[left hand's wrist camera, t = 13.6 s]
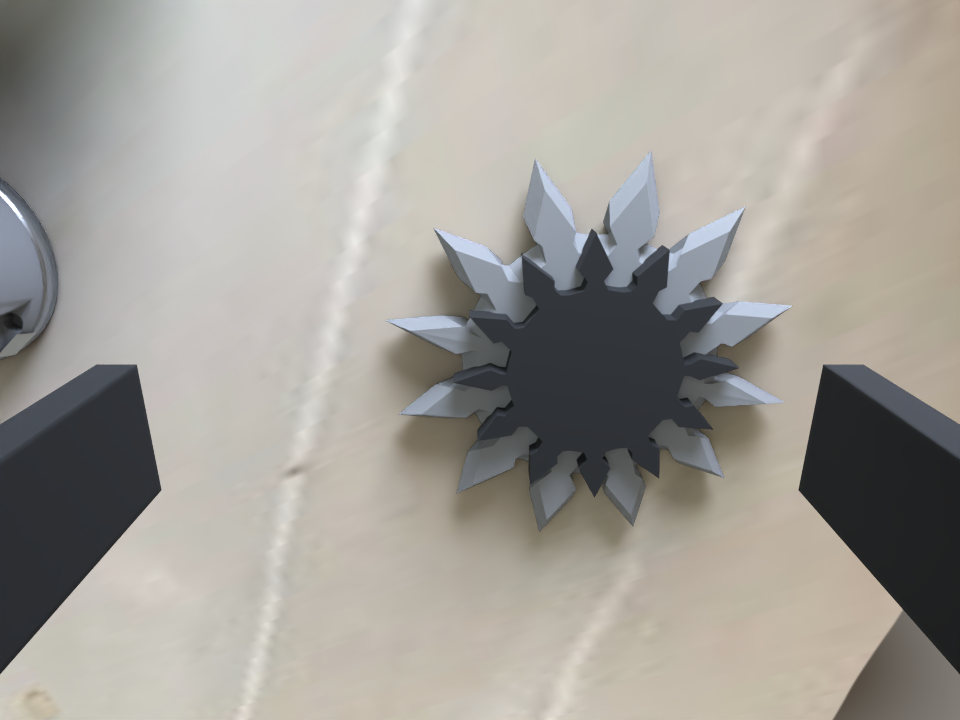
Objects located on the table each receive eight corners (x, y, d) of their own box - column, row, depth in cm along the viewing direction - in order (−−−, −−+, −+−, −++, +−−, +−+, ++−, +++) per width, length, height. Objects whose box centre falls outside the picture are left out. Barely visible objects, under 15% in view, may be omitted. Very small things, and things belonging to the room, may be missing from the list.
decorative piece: (347, 517, 48) (418, 95, 38) (356, 489, 52) (424, 98, 42) (729, 587, 50) (892, 205, 40) (711, 555, 54) (857, 198, 44)
